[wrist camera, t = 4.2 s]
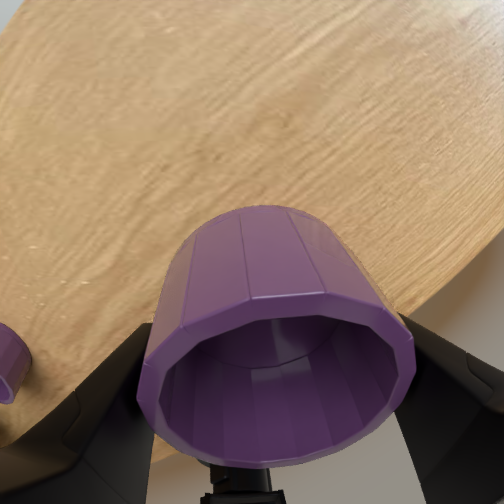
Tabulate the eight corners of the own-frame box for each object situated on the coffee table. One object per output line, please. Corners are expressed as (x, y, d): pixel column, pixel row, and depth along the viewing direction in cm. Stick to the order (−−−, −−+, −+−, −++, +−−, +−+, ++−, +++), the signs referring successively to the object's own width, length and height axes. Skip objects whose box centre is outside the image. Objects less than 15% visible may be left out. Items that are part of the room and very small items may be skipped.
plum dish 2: (387, 285, 11) (450, 376, 7) (263, 385, 13) (277, 482, 9) (258, 159, 9) (291, 216, 5) (129, 304, 10) (92, 412, 6)
